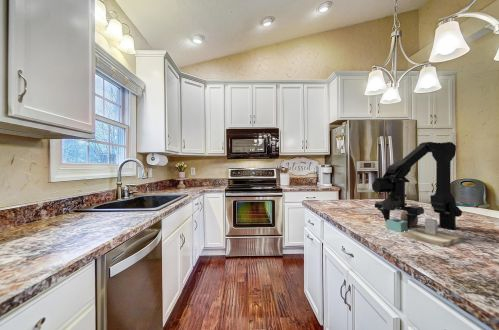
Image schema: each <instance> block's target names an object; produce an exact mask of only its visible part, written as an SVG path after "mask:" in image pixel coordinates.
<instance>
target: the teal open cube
mask: <svg viewBox="0 0 499 330" xmlns="http://www.w3.org/2000/svg"><path fill="white" fill-rule="evenodd" d="M385 224H386V226H385V229H387V230H389V231H395V232H398V233H402V232H404V231H408V230H410V229H408V228H407V221H404V220H401V218H400V219H399V218H395V217H394V218H391V219H390V218H389V220H386V221H385Z"/></svg>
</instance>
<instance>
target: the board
mask: <svg viewBox="0 0 499 330" xmlns="http://www.w3.org/2000/svg"><path fill="white" fill-rule="evenodd" d="M401 237H405V238H409V239H413V240H416V241H420V242H424V243H427V244H432V245H436V246H438V247H443V248H444V247H447V246H450V245H452V244H456V243H458V242H462V241H464V238H463V237H464V236H463V235H459V234H454V233H450V232H445V231H440V230H437V235H436V236H435V235H430V234H426V233H425V227H423V226H422V227H417V228H414V229H409V231H405V232H401Z"/></svg>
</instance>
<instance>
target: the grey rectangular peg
mask: <svg viewBox="0 0 499 330" xmlns="http://www.w3.org/2000/svg"><path fill="white" fill-rule="evenodd" d="M424 224H425V225H424V228H425V233H426V234H430V235H435V236H436V235H437V231H438V227H437V225H438V219H433V218H428V217H426V218H424Z"/></svg>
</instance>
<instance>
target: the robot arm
mask: <svg viewBox="0 0 499 330" xmlns="http://www.w3.org/2000/svg"><path fill="white" fill-rule="evenodd" d="M456 152H457V146H456V144H454V142H452V141H446V142H433V141H427V142H425V141H423V142H421V143H419V144H418V146H416V147H415V148H414V149H413V150H412V151H411V152H410V153H408V154H407V155H406V156H404V158H402V159H401V160H398V161H396V162H394V163H392V164H390V165H388V167H387V168H386V172H385V173H384V175H382V177H375V178H374V181H373V182H372V184H371V185H372V186H371V187H372V190H373V192H374V193H377V194H378V193H382V194H383V193H388V194H387V198H385V199H383V200H378V201H375V202H374V208H376V210H378V211H380V212H381V214H382V216H383V218H384V221H385V222H386V220H389V219H390V217H391V215H390V213H391V211H395V210H400V211H407V213H408V214H406V215H407V228H408V229H409V230H411V228H412V227H411V225H412V224H413V222H414V220H415V218H416V217H417V216H421V215H424V214H425V208H423V207H422V206H417V205H409V206H408V204H407V203H406V198H407V194H406V183H410V180H408V179H407V176H408V175H409V173H410V172H411V170H412V167H414V165H415V164H417V163H418V162H419V161H420V160H421V159H422V158H424V157H425V156H426V155H427V154H428V153H431V155H432V158H433V160H434V161H435V164H436V172H435V175H436V177H435V178H436V179H435V182H436V186H435V187H436V189H435V192H434V194H433V195H432V194H430V196H429V197H430V202H429V203H430V204H431V208H432V209H433V212H434V213H437V214H438V219H439V220H438V224H437V228H441V229H442V228H443V229H446V230H451V231H453V230H457V229H460V226H457V217H461V216H462V214H463V211H462V210H461V209H460V208H459V207H458V206H457V203H456V199H455V197H454V195H453V194H452V193H451V169H452V168H451V166H452V165H451V162H452V160H454V158H455V157H456Z"/></svg>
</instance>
